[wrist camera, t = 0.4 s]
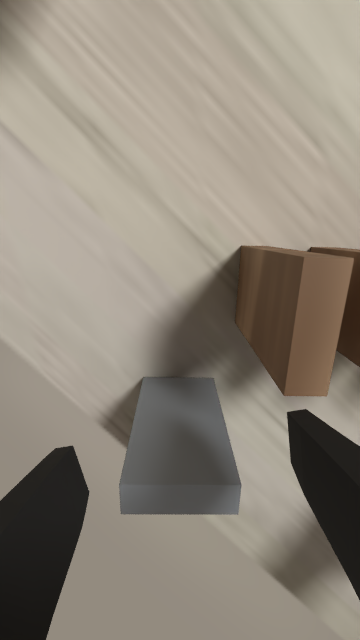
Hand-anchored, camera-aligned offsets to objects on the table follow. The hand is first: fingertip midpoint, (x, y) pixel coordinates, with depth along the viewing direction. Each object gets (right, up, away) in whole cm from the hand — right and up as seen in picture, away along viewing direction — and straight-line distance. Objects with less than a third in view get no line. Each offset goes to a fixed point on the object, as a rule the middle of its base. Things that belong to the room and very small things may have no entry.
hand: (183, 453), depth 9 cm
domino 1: (0, 0, +11) cm, 11 cm away
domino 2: (+4, +7, +9) cm, 12 cm away
